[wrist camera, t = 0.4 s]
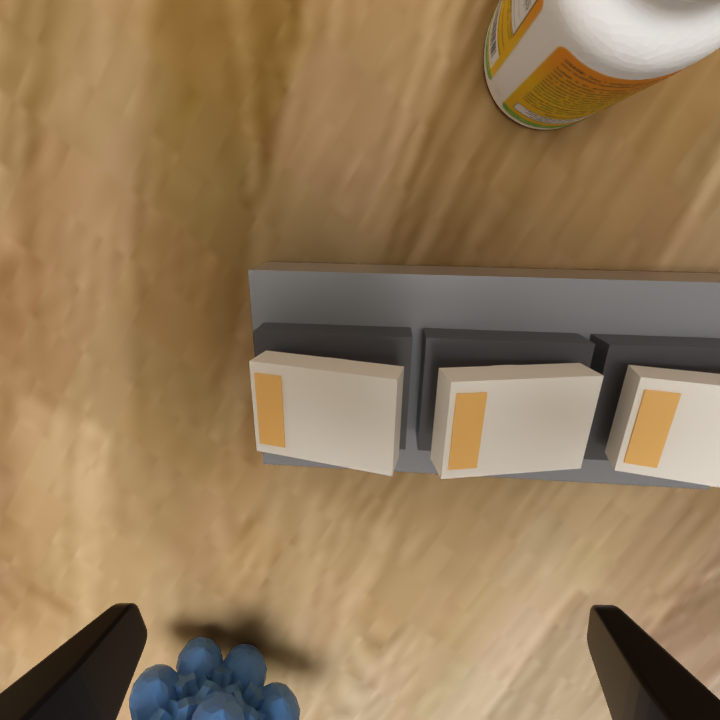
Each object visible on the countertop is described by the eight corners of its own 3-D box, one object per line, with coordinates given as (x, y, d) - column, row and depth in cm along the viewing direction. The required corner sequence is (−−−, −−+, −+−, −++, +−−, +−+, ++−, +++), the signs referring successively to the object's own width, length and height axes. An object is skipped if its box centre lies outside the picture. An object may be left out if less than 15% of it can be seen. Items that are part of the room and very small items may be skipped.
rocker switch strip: (723, 273, 17) (829, 291, 13) (664, 451, 20) (734, 511, 16) (269, 261, 18) (234, 274, 14) (279, 431, 21) (254, 482, 17)
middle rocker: (570, 357, 14) (605, 376, 13) (551, 442, 16) (581, 469, 14) (433, 361, 14) (452, 382, 12) (425, 450, 15) (441, 480, 13)
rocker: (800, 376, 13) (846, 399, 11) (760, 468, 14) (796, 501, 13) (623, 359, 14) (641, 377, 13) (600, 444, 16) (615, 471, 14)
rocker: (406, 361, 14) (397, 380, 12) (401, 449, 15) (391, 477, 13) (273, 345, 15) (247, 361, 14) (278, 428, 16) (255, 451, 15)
